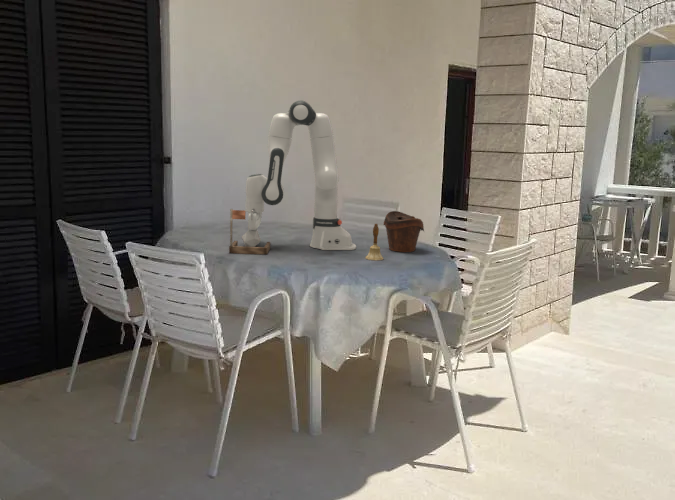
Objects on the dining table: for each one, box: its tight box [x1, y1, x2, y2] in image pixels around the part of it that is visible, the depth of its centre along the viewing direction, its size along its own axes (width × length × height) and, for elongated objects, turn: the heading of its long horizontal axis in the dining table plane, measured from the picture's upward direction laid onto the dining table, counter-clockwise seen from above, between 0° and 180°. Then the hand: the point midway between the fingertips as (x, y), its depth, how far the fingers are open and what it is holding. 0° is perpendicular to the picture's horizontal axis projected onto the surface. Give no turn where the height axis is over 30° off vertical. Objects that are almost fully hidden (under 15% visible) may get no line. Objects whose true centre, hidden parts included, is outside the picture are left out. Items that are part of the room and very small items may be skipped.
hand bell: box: [364, 223, 384, 261], centre depth 301 cm, size 8×8×16 cm
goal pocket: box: [228, 208, 271, 256], centre depth 308 cm, size 17×16×20 cm
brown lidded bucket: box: [383, 210, 425, 253], centre depth 324 cm, size 18×20×18 cm
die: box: [241, 229, 262, 247], centre depth 319 cm, size 8×9×10 cm
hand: (254, 236), depth 324 cm, fingers closed
